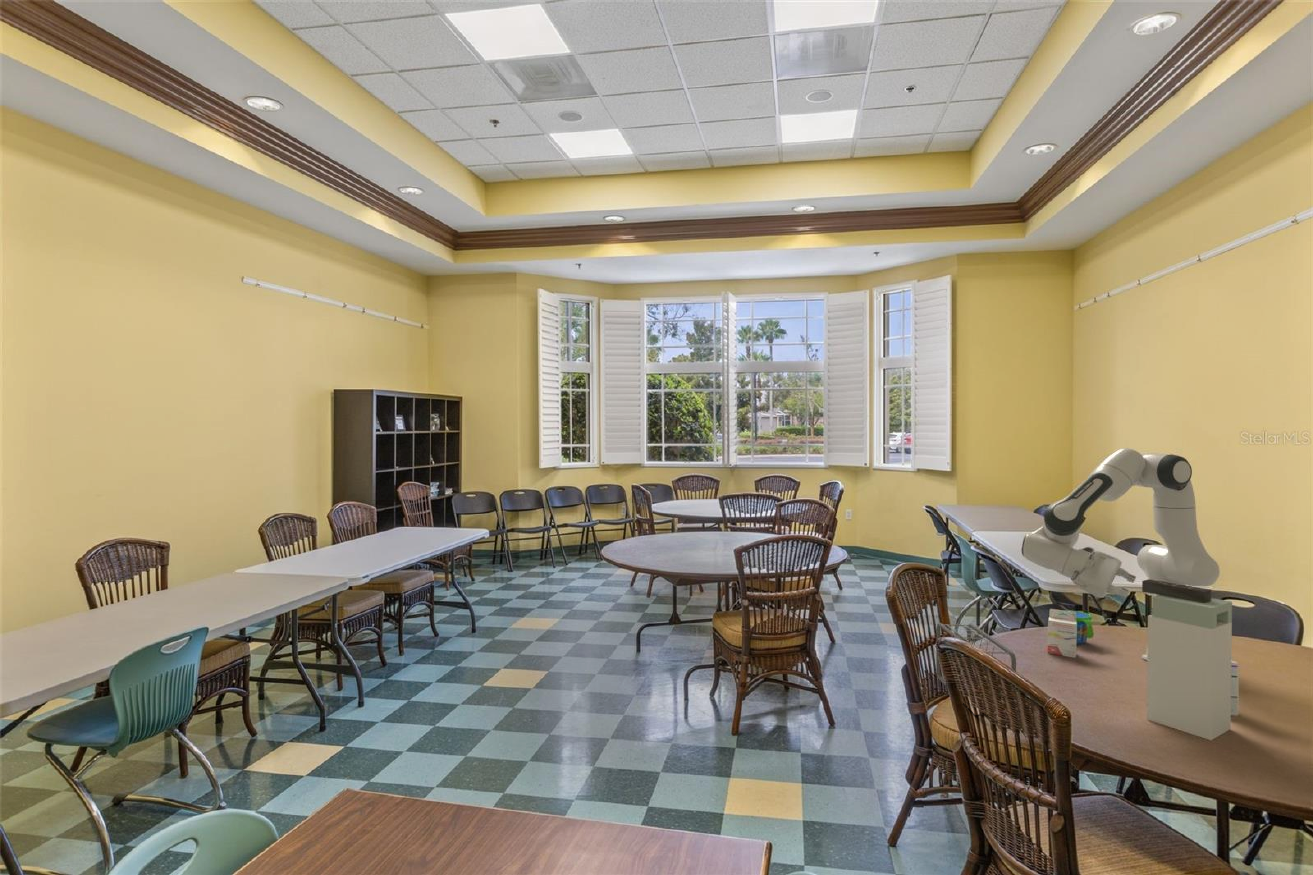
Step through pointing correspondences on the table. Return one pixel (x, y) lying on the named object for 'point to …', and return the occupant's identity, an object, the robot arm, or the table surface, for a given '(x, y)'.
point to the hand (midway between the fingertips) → (1131, 586)
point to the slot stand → (1190, 665)
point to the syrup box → (1234, 688)
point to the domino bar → (1176, 591)
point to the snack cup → (1082, 626)
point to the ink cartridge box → (1062, 633)
